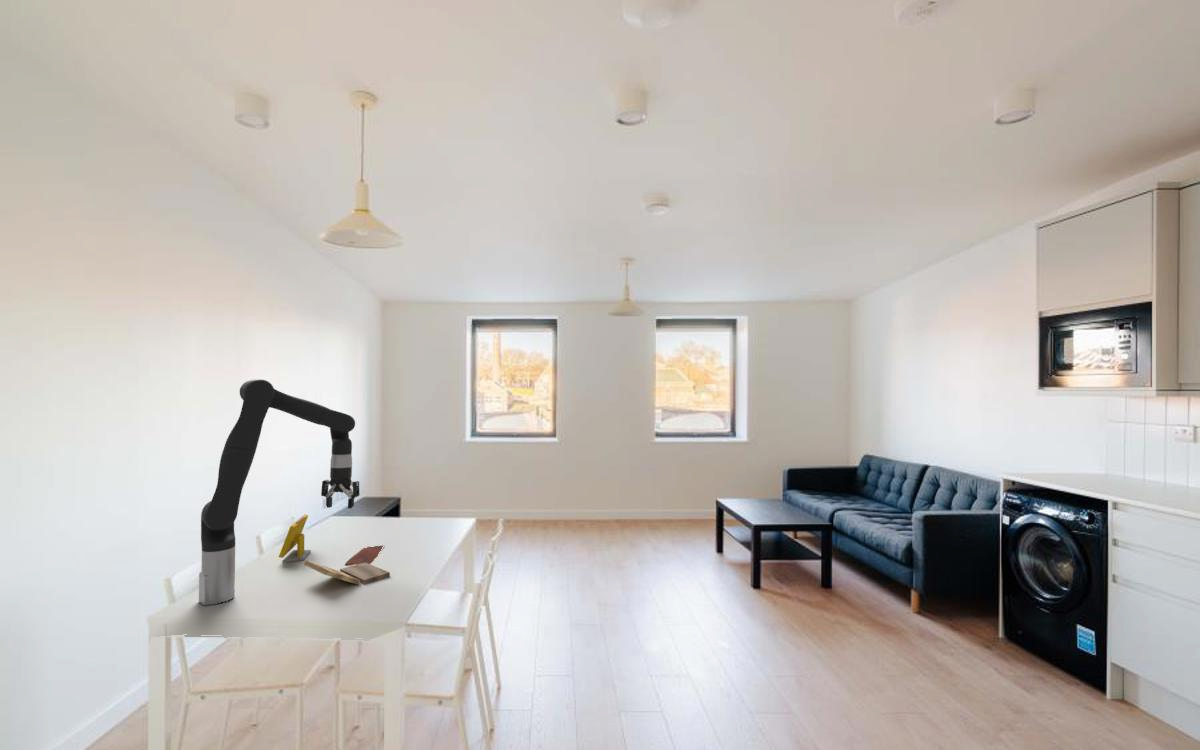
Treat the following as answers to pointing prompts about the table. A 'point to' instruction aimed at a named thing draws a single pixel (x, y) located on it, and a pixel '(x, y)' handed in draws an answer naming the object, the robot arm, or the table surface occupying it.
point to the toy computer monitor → (295, 542)
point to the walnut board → (365, 572)
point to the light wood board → (332, 572)
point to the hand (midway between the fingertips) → (339, 507)
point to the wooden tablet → (364, 556)
